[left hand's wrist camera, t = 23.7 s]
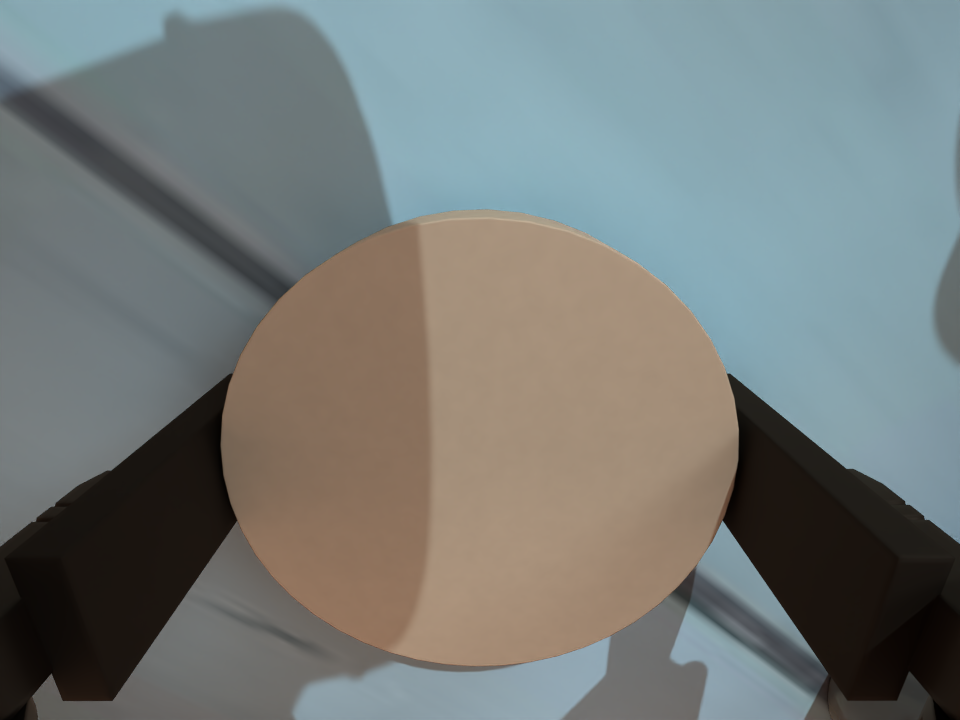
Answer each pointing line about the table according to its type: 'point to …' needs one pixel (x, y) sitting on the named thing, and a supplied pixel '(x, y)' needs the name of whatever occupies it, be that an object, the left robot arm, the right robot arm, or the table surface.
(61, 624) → the left robot arm
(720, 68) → the table surface
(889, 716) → the jar
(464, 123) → the table surface
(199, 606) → the table surface
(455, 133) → the table surface
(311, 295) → the lid
